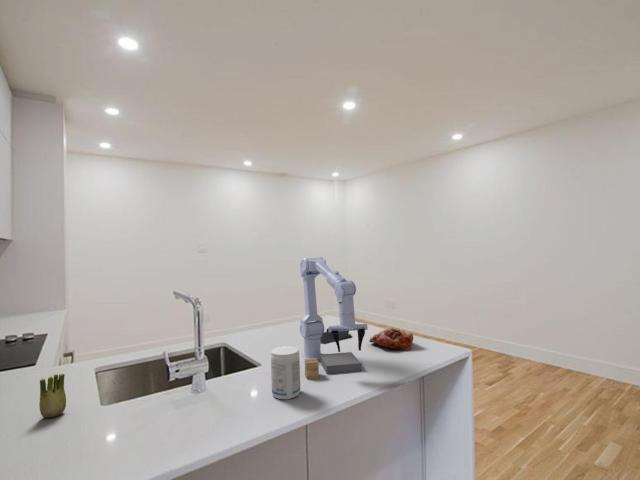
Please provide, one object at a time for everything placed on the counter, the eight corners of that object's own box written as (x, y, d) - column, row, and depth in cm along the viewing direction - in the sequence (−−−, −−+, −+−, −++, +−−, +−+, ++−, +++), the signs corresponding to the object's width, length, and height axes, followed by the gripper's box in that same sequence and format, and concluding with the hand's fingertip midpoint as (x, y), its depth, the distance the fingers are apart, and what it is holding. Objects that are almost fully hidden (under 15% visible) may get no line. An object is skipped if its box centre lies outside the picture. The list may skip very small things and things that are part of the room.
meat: (359, 343, 170) (359, 323, 170) (393, 337, 179) (393, 318, 180) (385, 355, 151) (385, 333, 151) (421, 348, 161) (421, 327, 161)
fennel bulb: (38, 421, 97) (38, 379, 98) (44, 414, 102) (44, 374, 102) (62, 417, 100) (62, 376, 100) (67, 410, 104) (67, 370, 104)
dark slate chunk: (305, 339, 180) (305, 330, 180) (336, 332, 194) (336, 323, 194) (323, 345, 168) (323, 336, 168) (355, 337, 182) (355, 328, 182)
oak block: (304, 374, 130) (304, 359, 130) (316, 373, 131) (316, 358, 131) (306, 379, 126) (306, 363, 126) (318, 378, 126) (318, 362, 126)
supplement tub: (294, 385, 120) (293, 344, 120) (304, 396, 111) (304, 351, 111) (267, 391, 115) (267, 348, 116) (276, 403, 107) (276, 356, 107)
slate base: (319, 361, 144) (319, 354, 144) (351, 358, 147) (351, 352, 147) (326, 373, 130) (326, 366, 130) (361, 370, 133) (361, 363, 133)
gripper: (327, 316, 123) (330, 354, 122) (367, 313, 123) (370, 351, 122) (327, 313, 131) (329, 350, 129) (365, 311, 130) (367, 347, 129)
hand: (349, 350), depth 126 cm, fingers open, 7 cm apart
